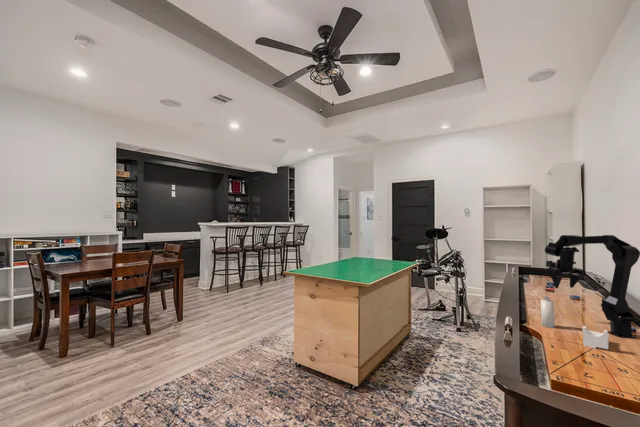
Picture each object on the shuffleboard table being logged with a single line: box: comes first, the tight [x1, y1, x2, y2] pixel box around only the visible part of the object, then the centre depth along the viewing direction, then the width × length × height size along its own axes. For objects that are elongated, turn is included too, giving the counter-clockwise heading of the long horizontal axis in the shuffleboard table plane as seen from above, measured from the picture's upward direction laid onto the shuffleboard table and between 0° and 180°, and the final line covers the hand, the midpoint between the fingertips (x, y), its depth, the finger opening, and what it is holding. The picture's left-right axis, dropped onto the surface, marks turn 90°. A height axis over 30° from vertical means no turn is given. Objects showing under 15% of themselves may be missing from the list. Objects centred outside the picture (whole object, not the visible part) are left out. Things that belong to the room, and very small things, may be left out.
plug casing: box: [540, 295, 556, 329], centre depth 141 cm, size 5×5×14 cm
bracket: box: [581, 325, 610, 350], centre depth 119 cm, size 13×7×8 cm, turn 134°
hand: (563, 287), depth 154 cm, fingers open, 9 cm apart
